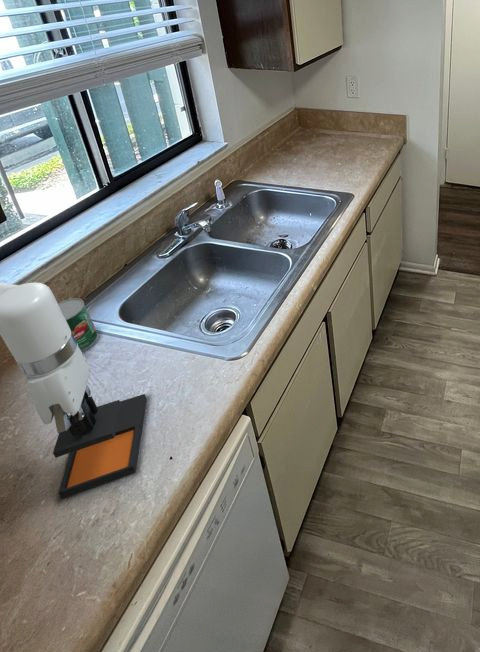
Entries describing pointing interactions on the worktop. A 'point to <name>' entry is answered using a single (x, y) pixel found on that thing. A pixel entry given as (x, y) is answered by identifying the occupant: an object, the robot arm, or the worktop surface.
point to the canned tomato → (79, 322)
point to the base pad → (107, 452)
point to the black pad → (101, 431)
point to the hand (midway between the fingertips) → (85, 422)
